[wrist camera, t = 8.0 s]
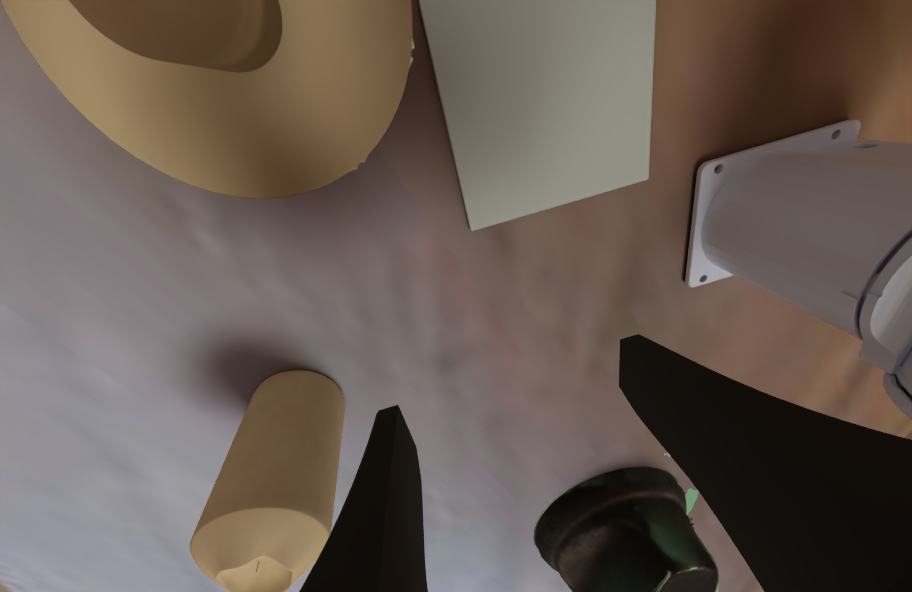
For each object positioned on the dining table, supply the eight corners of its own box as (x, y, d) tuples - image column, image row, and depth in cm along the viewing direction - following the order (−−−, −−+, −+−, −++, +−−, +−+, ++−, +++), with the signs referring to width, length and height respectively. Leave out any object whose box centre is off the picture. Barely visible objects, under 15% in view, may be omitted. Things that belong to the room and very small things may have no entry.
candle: (232, 389, 22) (135, 583, 13) (317, 355, 22) (276, 528, 13) (285, 443, 24) (233, 632, 16) (360, 413, 24) (349, 587, 16)
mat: (652, -67, 15) (658, -71, 14) (643, 177, 20) (648, 179, 20) (416, -5, 14) (418, -7, 14) (469, 228, 19) (471, 231, 19)
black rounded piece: (552, 449, 31) (613, 574, 23) (732, 446, 36) (834, 548, 28) (493, 574, 39) (523, 696, 31) (645, 557, 44) (703, 659, 36)
